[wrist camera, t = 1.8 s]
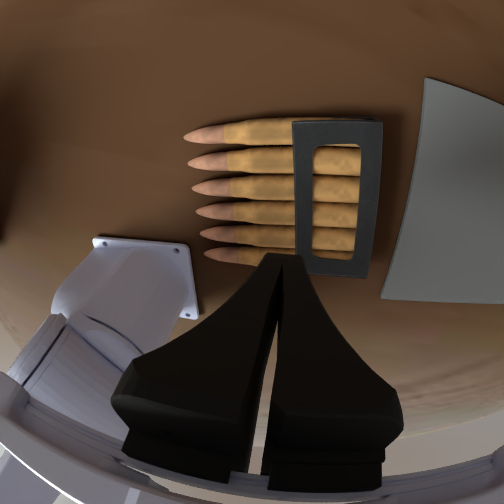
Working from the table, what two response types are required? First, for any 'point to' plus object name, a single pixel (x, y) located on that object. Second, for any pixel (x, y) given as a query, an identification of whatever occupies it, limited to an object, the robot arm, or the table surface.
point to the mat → (453, 204)
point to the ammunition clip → (296, 191)
